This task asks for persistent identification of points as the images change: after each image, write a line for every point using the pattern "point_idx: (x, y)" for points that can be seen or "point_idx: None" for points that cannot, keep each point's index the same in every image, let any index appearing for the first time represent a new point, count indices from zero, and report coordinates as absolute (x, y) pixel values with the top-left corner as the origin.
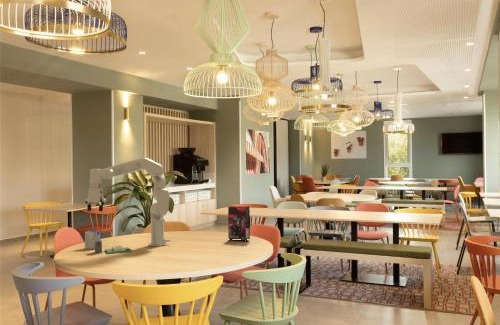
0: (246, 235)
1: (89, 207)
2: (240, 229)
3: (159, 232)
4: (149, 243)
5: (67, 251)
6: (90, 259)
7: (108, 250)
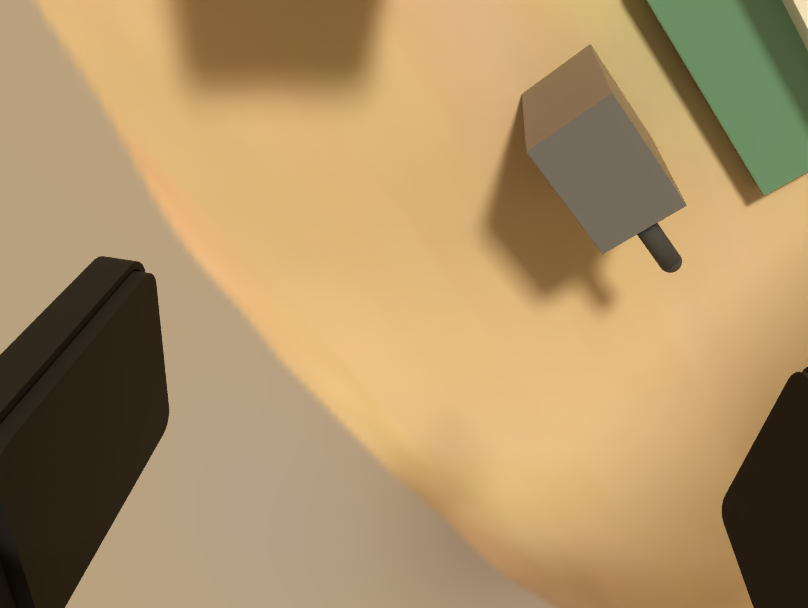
0: None
1: (94, 483)
2: None
3: None
4: None
5: (150, 106)
6: (673, 450)
7: (736, 82)
